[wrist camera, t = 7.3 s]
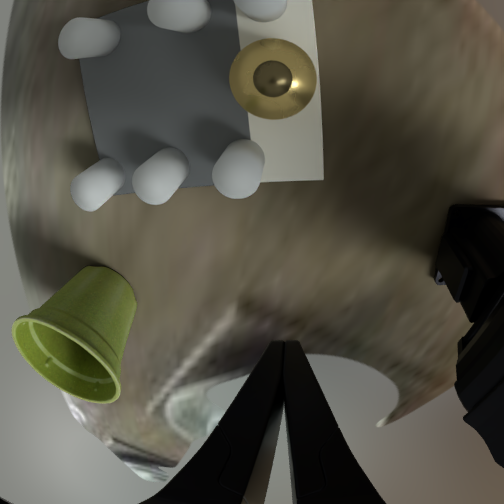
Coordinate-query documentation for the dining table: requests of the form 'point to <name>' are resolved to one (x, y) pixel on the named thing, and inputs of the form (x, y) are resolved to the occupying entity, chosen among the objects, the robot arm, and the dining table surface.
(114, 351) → the plant pot
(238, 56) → the brass knob
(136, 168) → the board
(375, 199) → the dining table surface
